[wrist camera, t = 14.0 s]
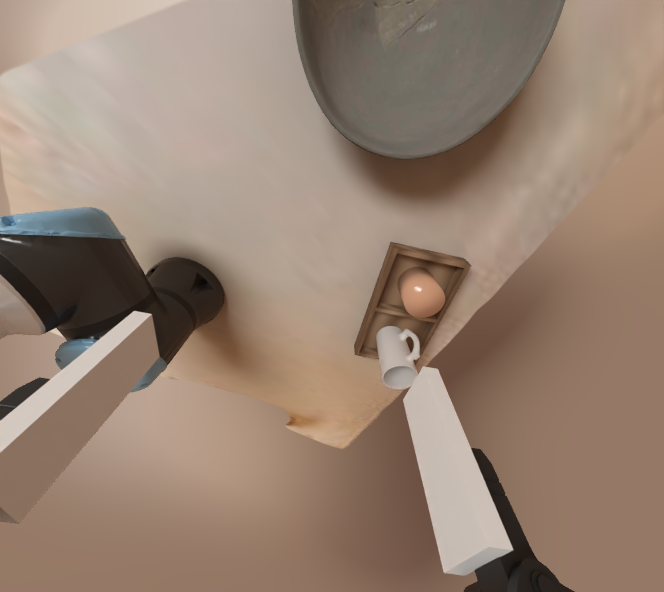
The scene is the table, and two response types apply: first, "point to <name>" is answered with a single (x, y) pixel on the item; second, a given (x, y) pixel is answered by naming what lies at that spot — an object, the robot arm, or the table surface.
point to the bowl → (419, 66)
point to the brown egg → (420, 292)
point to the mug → (397, 357)
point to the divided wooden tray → (388, 301)
